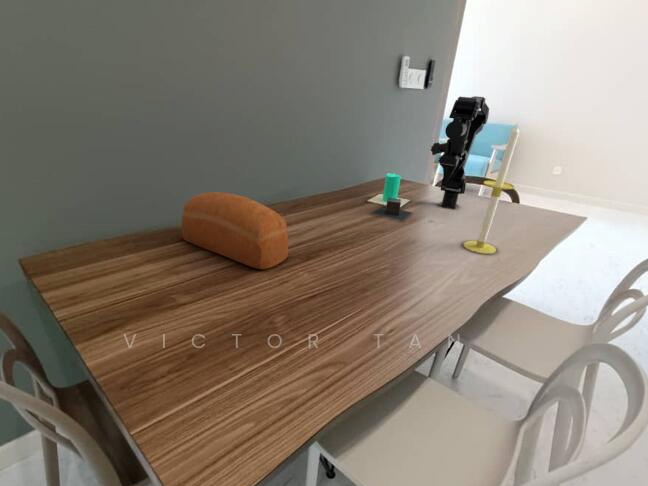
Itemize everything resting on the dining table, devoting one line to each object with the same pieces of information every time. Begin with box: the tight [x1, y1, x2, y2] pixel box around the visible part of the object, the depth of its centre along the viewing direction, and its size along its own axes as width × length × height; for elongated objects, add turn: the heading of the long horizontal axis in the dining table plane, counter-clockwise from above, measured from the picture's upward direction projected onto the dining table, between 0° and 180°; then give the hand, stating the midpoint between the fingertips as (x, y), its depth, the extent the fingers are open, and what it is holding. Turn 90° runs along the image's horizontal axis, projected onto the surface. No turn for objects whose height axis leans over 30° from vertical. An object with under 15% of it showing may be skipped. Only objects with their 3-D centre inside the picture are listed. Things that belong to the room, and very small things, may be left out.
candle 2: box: [462, 120, 520, 255], centre depth 117 cm, size 10×10×38 cm
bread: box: [181, 191, 289, 270], centre depth 111 cm, size 14×33×16 cm, turn 54°
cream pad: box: [367, 193, 411, 208], centre depth 165 cm, size 14×14×1 cm
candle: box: [382, 171, 402, 202], centre depth 162 cm, size 6×6×12 cm
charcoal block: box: [385, 198, 401, 216], centre depth 150 cm, size 5×5×5 cm
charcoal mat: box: [371, 205, 413, 221], centre depth 151 cm, size 12×12×1 cm
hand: (448, 180), depth 149 cm, fingers open, 9 cm apart
